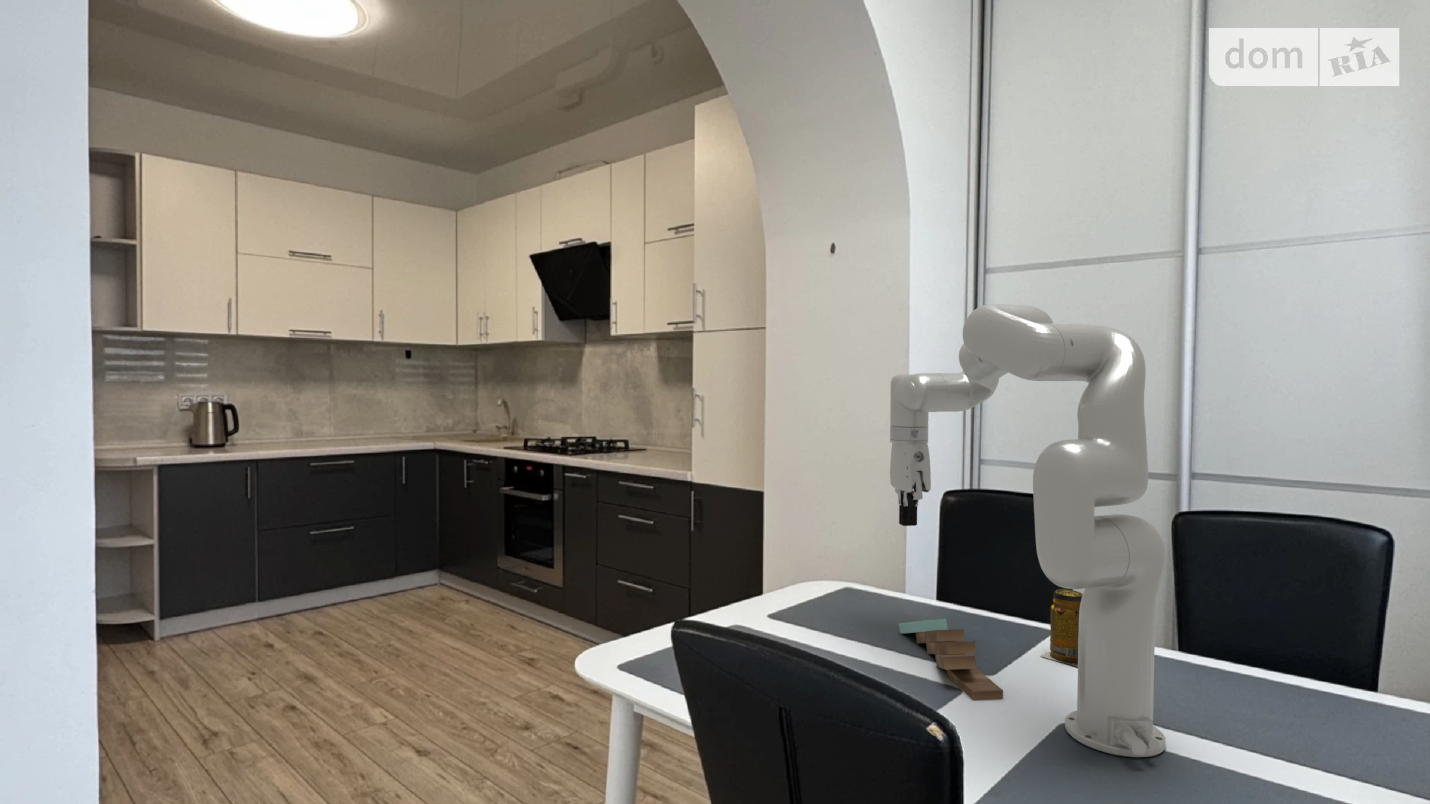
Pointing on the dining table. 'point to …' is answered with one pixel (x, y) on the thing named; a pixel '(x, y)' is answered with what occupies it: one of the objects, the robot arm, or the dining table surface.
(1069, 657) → the condiment
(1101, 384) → the robot arm
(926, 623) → the domino
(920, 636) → the domino
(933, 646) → the domino
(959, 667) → the domino
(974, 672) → the domino
